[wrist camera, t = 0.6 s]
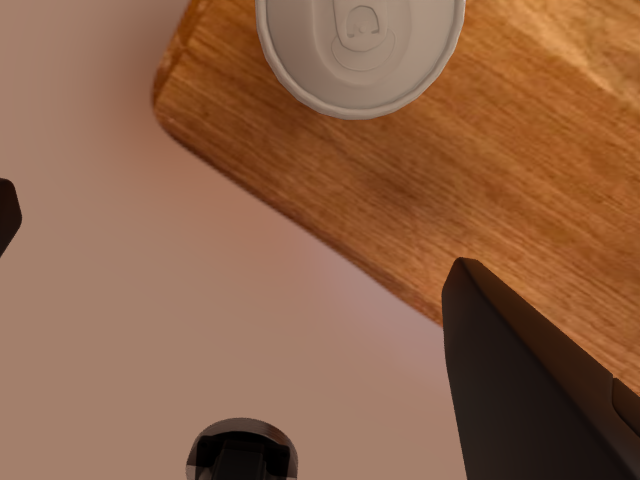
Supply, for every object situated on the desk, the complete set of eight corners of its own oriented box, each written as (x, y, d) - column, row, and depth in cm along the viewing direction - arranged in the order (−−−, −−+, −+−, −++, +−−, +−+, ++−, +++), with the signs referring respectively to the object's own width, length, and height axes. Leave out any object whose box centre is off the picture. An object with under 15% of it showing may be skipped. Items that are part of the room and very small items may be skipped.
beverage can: (299, 107, 22) (270, 137, 10) (282, -2, 20) (227, -106, 9) (396, 93, 21) (475, 107, 10) (387, -19, 20) (470, -150, 9)
